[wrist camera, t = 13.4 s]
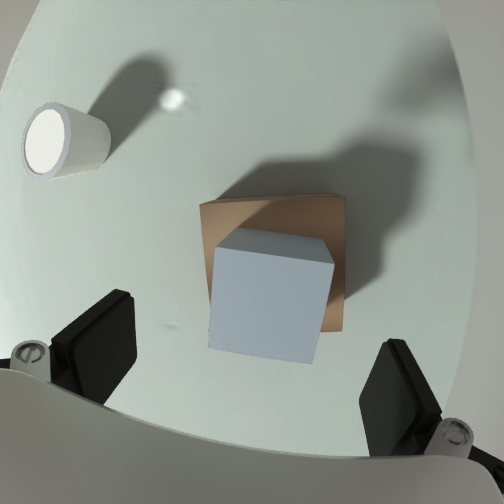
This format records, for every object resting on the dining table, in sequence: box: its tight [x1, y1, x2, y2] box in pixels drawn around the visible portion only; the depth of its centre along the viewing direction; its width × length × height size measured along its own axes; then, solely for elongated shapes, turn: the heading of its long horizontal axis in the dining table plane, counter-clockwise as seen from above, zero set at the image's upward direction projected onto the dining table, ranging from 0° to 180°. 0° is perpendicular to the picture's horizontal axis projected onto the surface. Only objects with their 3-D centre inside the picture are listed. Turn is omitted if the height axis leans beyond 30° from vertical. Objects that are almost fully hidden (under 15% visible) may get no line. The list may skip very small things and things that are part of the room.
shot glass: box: [21, 102, 111, 182], centre depth 22 cm, size 7×7×7 cm
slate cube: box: [208, 227, 335, 364], centre depth 18 cm, size 6×6×6 cm
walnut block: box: [199, 194, 345, 332], centre depth 24 cm, size 10×10×5 cm
